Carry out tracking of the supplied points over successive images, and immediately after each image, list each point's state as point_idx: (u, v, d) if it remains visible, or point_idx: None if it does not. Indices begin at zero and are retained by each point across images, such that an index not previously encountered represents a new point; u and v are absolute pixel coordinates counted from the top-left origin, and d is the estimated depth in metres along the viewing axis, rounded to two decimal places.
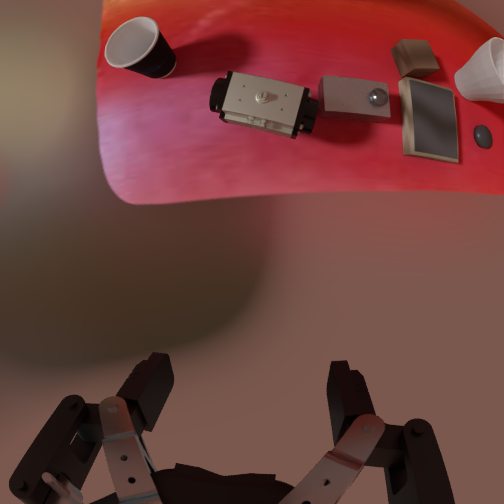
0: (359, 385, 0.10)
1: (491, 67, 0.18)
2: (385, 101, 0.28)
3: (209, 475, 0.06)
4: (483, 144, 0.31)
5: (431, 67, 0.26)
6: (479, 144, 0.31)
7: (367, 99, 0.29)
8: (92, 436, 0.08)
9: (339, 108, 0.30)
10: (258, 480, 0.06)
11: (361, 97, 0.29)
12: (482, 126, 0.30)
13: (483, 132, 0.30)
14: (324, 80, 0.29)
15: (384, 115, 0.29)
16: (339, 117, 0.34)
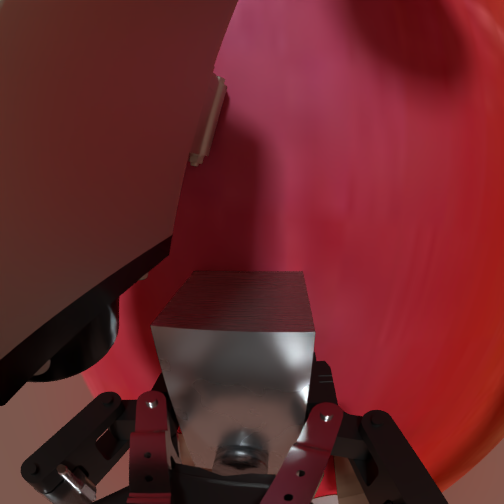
0: (325, 375, 0.11)
1: None
2: None
3: (209, 475, 0.06)
4: None
5: None
6: None
7: (232, 442, 0.09)
8: (127, 433, 0.08)
9: (172, 372, 0.08)
10: (258, 481, 0.06)
11: (234, 431, 0.09)
12: None
13: None
14: (289, 337, 0.08)
15: (195, 459, 0.10)
16: None
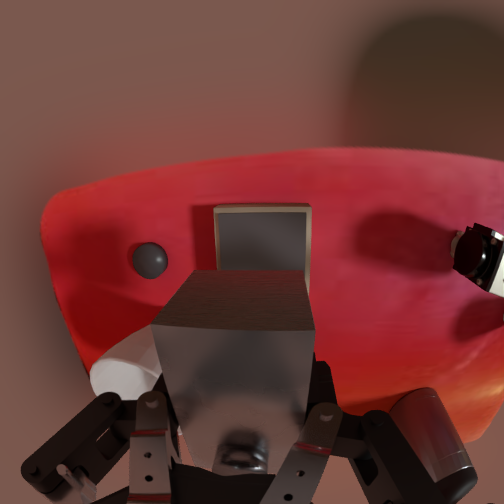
0: (324, 375, 0.11)
1: None
2: None
3: (209, 475, 0.06)
4: (154, 251, 0.29)
5: None
6: (160, 250, 0.30)
7: (232, 441, 0.09)
8: (127, 433, 0.08)
9: (172, 371, 0.08)
10: (258, 481, 0.06)
11: (234, 430, 0.09)
12: (149, 277, 0.30)
13: (150, 268, 0.30)
14: (289, 336, 0.08)
15: (195, 459, 0.10)
16: None
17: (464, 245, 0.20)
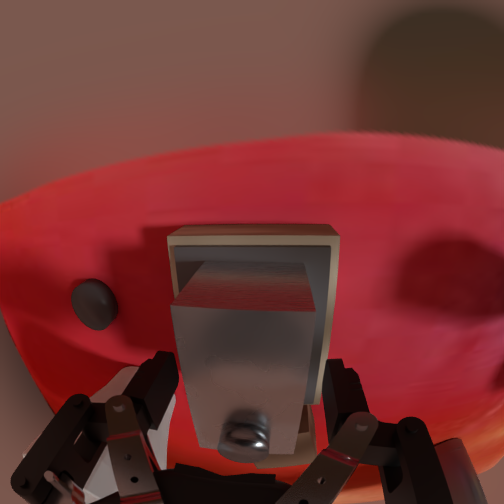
0: (354, 383, 0.10)
1: None
2: (231, 457, 0.10)
3: (209, 475, 0.06)
4: (98, 297, 0.18)
5: None
6: (108, 296, 0.19)
7: (237, 419, 0.11)
8: (97, 435, 0.08)
9: (186, 349, 0.10)
10: (258, 481, 0.06)
11: (240, 408, 0.10)
12: (92, 327, 0.19)
13: (93, 317, 0.19)
14: (293, 316, 0.09)
15: (200, 439, 0.12)
16: None
17: None
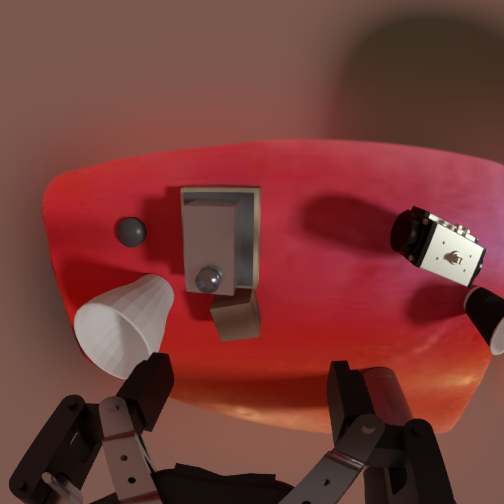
0: (359, 385, 0.10)
1: (149, 338, 0.26)
2: (201, 288, 0.27)
3: (209, 475, 0.06)
4: (137, 226, 0.34)
5: (222, 308, 0.33)
6: (142, 227, 0.35)
7: (205, 265, 0.27)
8: (92, 436, 0.08)
9: (187, 225, 0.26)
10: (258, 481, 0.06)
11: (206, 257, 0.27)
12: (127, 245, 0.35)
13: (130, 238, 0.35)
14: (226, 208, 0.25)
15: (187, 283, 0.28)
16: None
17: (398, 225, 0.25)
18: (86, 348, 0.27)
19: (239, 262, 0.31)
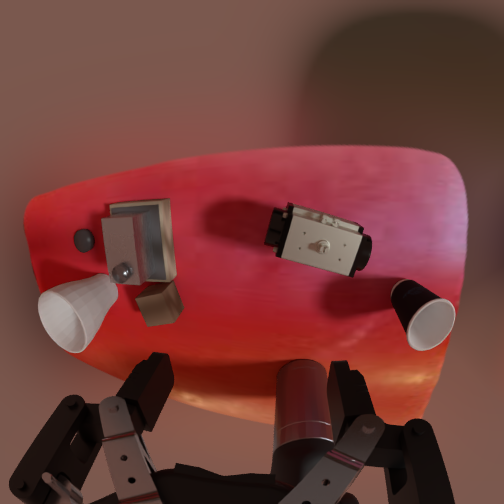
0: (359, 385, 0.10)
1: (83, 317, 0.32)
2: (116, 279, 0.33)
3: (209, 475, 0.06)
4: (87, 237, 0.41)
5: (143, 298, 0.39)
6: (91, 237, 0.42)
7: (119, 261, 0.33)
8: (92, 436, 0.08)
9: (105, 232, 0.32)
10: (258, 481, 0.06)
11: (119, 255, 0.33)
12: (80, 250, 0.42)
13: (82, 245, 0.41)
14: (127, 218, 0.32)
15: (110, 276, 0.34)
16: None
17: None
18: (47, 328, 0.33)
19: (151, 260, 0.37)
